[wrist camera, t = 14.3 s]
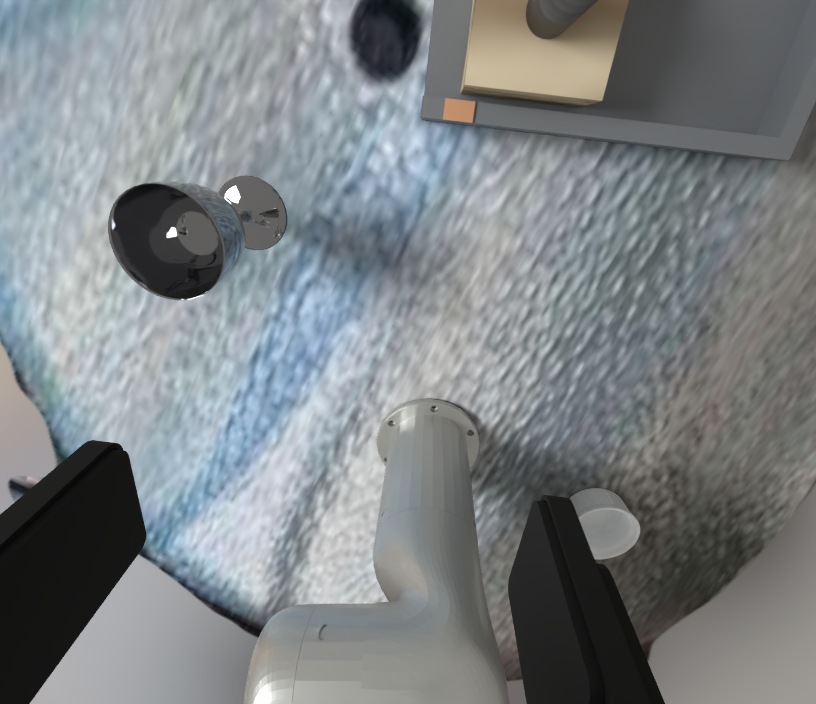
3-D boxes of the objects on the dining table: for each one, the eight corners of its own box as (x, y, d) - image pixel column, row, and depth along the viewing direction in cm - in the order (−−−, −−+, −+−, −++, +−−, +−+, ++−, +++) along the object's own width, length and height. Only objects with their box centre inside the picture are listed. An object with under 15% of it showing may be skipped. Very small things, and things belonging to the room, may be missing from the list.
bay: (755, 159, 38) (790, 160, 34) (422, 119, 38) (420, 116, 34) (841, -45, 32) (895, -70, 28) (444, -91, 32) (445, -122, 28)
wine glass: (197, 216, 43) (88, 248, 30) (238, 152, 40) (140, 154, 27) (262, 269, 45) (188, 321, 32) (306, 211, 42) (246, 242, 29)
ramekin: (594, 472, 54) (606, 497, 50) (641, 506, 56) (656, 533, 52) (543, 511, 58) (551, 537, 54) (589, 542, 60) (600, 569, 56)
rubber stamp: (577, 108, 36) (652, 87, 24) (460, 94, 36) (473, 66, 24) (612, -40, 32) (728, -160, 19) (480, -55, 32) (510, -185, 20)
